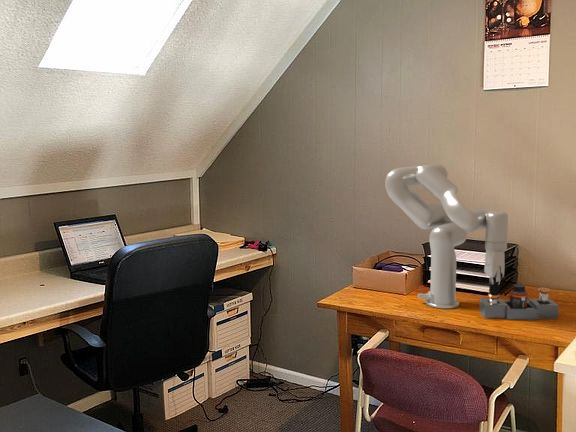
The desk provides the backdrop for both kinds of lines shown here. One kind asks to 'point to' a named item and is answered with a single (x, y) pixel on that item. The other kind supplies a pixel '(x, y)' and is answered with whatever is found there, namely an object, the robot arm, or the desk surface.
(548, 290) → the plunger right
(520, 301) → the supplement bottle
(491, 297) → the plunger left
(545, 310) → the housing
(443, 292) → the robot arm
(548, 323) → the desk surface
